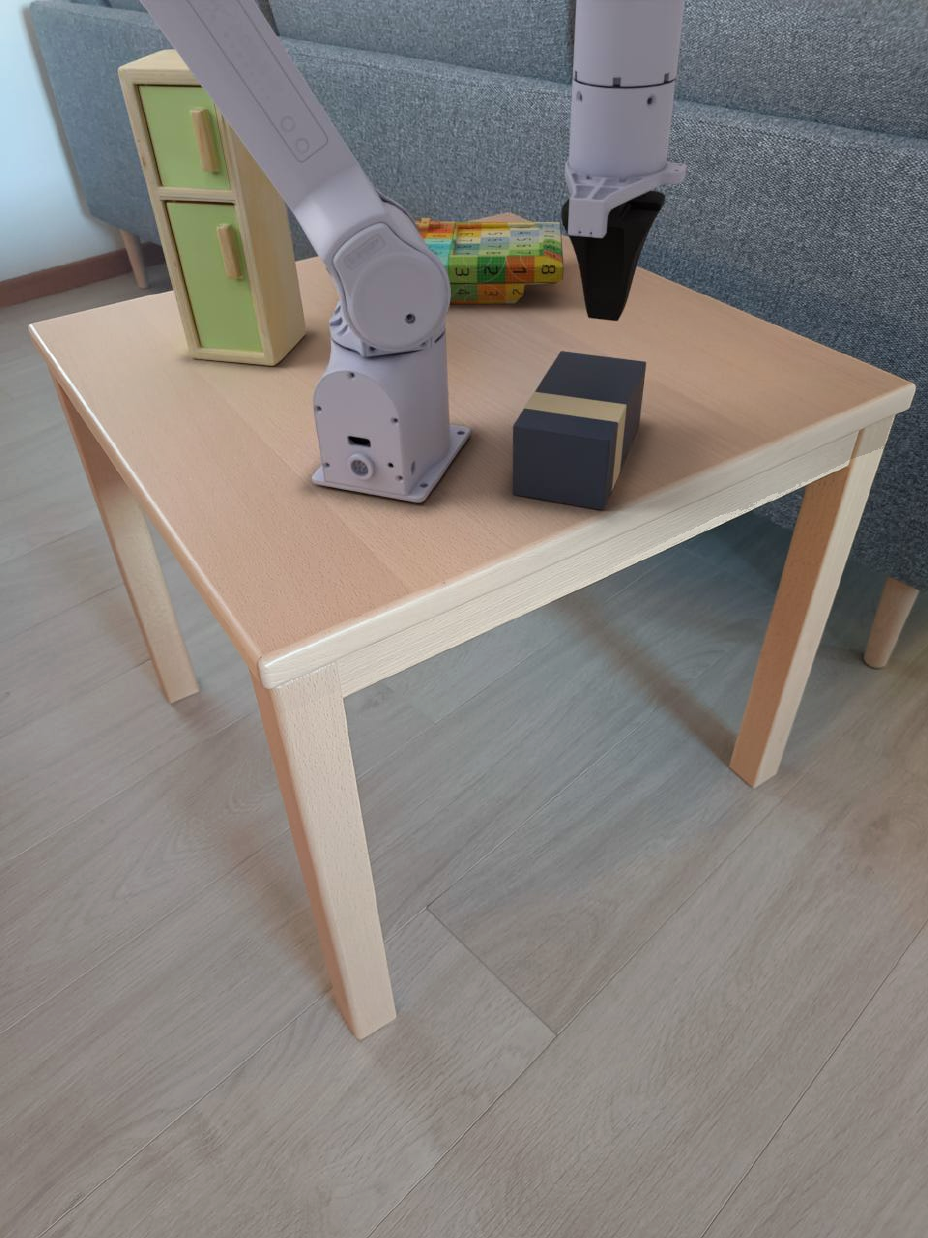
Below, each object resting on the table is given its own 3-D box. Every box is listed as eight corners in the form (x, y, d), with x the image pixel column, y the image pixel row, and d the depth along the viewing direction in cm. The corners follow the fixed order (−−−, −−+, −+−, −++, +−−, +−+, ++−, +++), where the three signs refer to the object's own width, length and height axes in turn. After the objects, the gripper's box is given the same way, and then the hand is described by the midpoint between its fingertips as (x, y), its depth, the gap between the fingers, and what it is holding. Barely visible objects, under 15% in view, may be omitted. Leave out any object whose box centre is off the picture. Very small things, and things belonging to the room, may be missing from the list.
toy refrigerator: (182, 362, 73) (108, 66, 59) (224, 326, 79) (165, 47, 65) (271, 372, 72) (216, 69, 58) (307, 334, 77) (265, 49, 63)
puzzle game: (353, 214, 86) (560, 212, 85) (358, 263, 89) (558, 262, 88) (333, 257, 78) (564, 255, 76) (339, 310, 81) (561, 309, 79)
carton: (639, 427, 63) (603, 511, 56) (557, 415, 65) (511, 495, 57) (647, 360, 60) (610, 439, 52) (560, 349, 62) (512, 424, 54)
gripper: (673, 110, 43) (643, 370, 52) (715, 55, 54) (684, 281, 63) (534, 103, 45) (528, 355, 54) (600, 52, 56) (586, 271, 65)
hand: (604, 315), depth 59 cm, fingers closed
